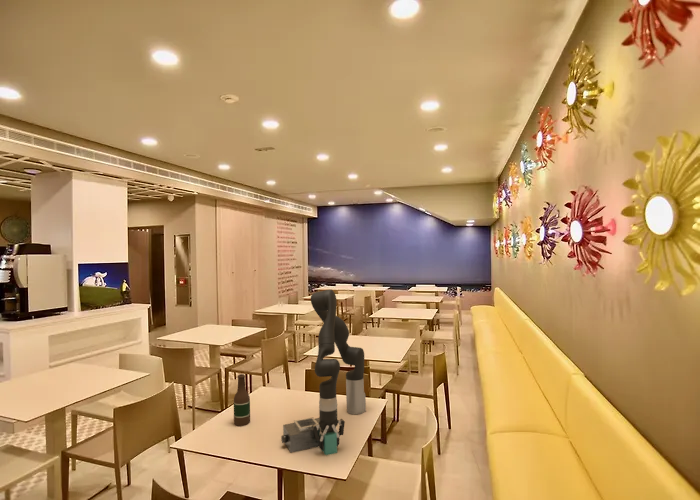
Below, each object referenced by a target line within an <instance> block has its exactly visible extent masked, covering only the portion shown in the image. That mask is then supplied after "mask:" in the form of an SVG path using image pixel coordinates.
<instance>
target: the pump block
mask: <svg viewBox="0 0 700 500" xmlns="http://www.w3.org/2000/svg"><path fill="white" fill-rule="evenodd" d="M321 451H322V452H323V454H324V455H325V456H330V455H334V454H337V453H338V447H337V433H335V432H334V431H333V432H328V433H326V435H325V436H324V438H323V450H321Z"/></svg>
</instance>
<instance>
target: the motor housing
mask: <svg viewBox="0 0 700 500" xmlns="http://www.w3.org/2000/svg"><path fill="white" fill-rule="evenodd" d="M319 421H320V418H319V417H317V418H314V417H307V418H301V419H296V420H293V422H292V423H286V424H283V425H282V428H283V429H282V433H283V435H281V436H280V438H281V439H280V440H281V444H284V445H285V446H286V448H287V449H288V451H289V453H291V454H292V453H296V452H300V451H305V450H309V449H314V448H317V447H318V448H319V441H316V440H315V438H314V434H313V428H312V425H313V424H314V425H317V424H319ZM320 430H321V428H320V427H319V428H318V430H317V432H318V436H319V434H320Z"/></svg>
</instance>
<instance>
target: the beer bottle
mask: <svg viewBox="0 0 700 500" xmlns="http://www.w3.org/2000/svg"><path fill="white" fill-rule="evenodd" d="M236 377H237V388H236V389H237V391H236V392H235V394H234V397H233V423H234V426H235V427H246V426H248V425H249V424H250V423H251V400H250V394H249V393H248V391H247V389H246V379H245V378H246V375H245V374H244V373H242V374H241V373H240V374H238V375H237V376H236Z"/></svg>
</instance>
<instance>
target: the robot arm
mask: <svg viewBox="0 0 700 500" xmlns="http://www.w3.org/2000/svg"><path fill="white" fill-rule="evenodd" d="M310 303H311V306H312V308H313V310H314V312H315V313H316V314H317V315H318V317H319V319H320V320H321V322H322V323H323V324H322V326H321V328H320V329H319V332H318V338H317V339H318V349H317V350H318V351H317V358H316V361H315V364H314V374H315V375H316V376H317V377H319V378H323V377H324V378H325V377H330V378H329V379H328V380H323V381H321V382H320V383H319V387H318V388H319V401H318V404H319V406H318V408H319V409H318V412H319V413H318V415H319V417H318V418H320V421H319V424H317V425H314V424H313V425H312V428H313V434H314V438H315V440H316V441H319V446H318V448H319V449H320V450H321V451H322V450H323V438H324V436H325V435H326V433H328V432H333V431H334V432H335V433H337V448H338V447H339V445H340V437H341V436H344V432H345V423H346V422H345V420H343V419H342V418H341V419H338V399H337V383H338V378H339V373H340V370H341V369H340V368H341V363H340V361H339V360H338V359H337V358H326V359H325V357H328V356H331V355H333V354H335V351H336V348H337V349H338V352H339V353H338V354H340V357H341V359H342V361H343V363H344V364H346V365H348V366H354V369H351V370H349V371H347V372H346V373H345V388H346V393H345V394H346V395H345V396H346V397H345V398H346V413H347V414H350V415H360V414H363V413H364V412H365V413H366V411H367V405H366V404H367V403H366V402H367V401H366V400H367V399H366V393H365V388H364V384H365V383H364V373H365V351H364V349H363V348H362V347H358V346H357V347H356V346H350V345H349V344H348V342H347V341H348V339H349V336H350V330H349V328H348V326H347V324H346V322H345V321H344V320H343V319H342V318H341V317H339V316H338V315H337V306H338V305H337V304H338V303H337V295H336V293H335V291H334V290H333V289H326V290H320V291H316V292H314V293H312V294H311V296H310ZM335 347H336V348H335ZM337 426H338V429H337ZM319 427H320V428H321V430H320V434H319V436H318V432H317V430H318V428H319Z"/></svg>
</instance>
